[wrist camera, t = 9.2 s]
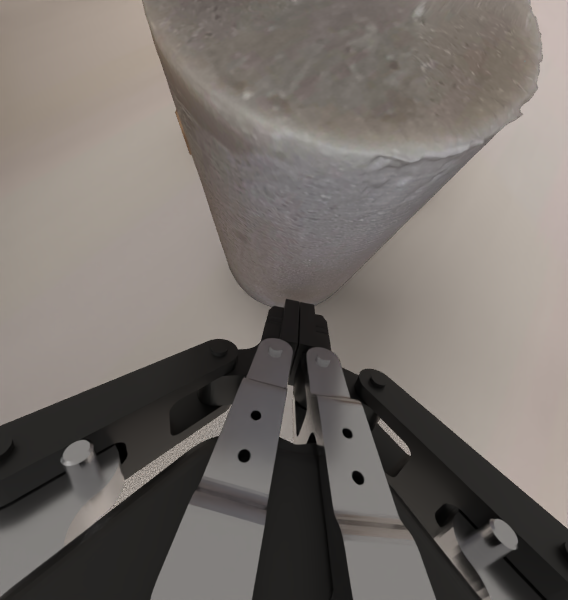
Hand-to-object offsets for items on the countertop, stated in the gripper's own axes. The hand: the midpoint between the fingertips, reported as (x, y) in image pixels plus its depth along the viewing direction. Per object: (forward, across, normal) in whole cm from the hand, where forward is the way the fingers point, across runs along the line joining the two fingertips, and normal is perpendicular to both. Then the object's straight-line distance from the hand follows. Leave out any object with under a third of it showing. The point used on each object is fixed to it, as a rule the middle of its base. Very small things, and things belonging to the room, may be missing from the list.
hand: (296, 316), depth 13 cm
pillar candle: (+8, -1, +1) cm, 8 cm away
